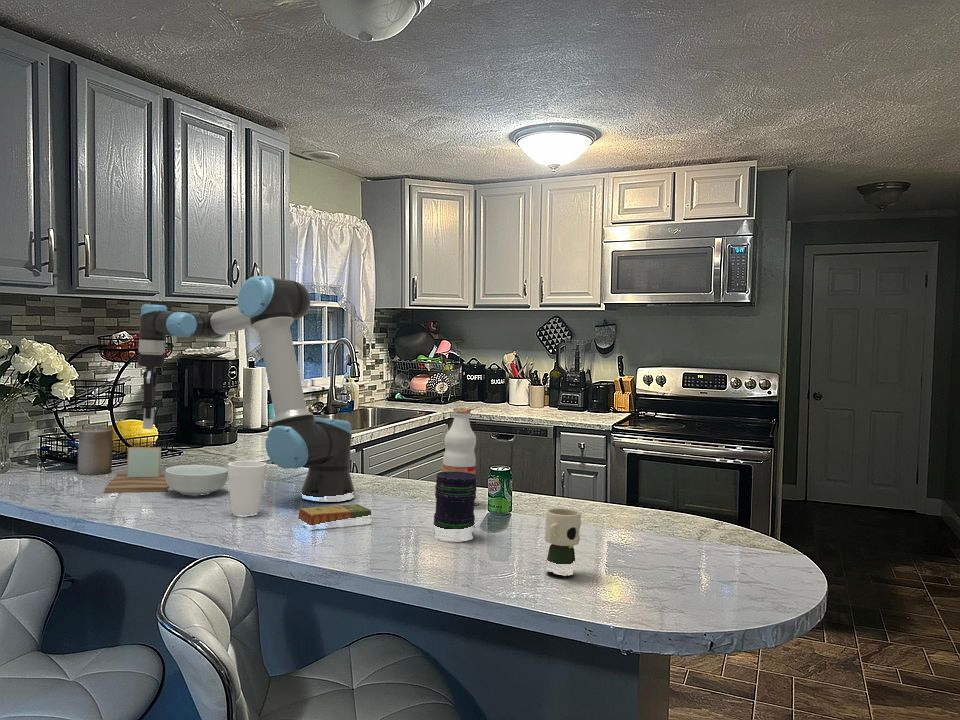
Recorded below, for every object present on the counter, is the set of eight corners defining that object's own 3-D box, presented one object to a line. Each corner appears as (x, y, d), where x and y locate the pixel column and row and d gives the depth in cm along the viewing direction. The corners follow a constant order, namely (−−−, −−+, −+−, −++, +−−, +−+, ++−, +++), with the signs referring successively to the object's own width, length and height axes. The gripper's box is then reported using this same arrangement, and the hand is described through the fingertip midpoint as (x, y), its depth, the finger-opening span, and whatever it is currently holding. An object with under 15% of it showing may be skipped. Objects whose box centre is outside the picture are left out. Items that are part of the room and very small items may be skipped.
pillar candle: (114, 469, 233) (116, 423, 233) (107, 475, 224) (109, 427, 223) (81, 469, 230) (83, 423, 230) (73, 475, 221) (74, 426, 221)
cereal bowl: (199, 502, 194) (200, 476, 193) (150, 495, 199) (151, 470, 199) (239, 491, 210) (240, 467, 210) (193, 485, 215) (194, 462, 215)
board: (166, 491, 205) (167, 487, 204) (104, 492, 199) (104, 488, 199) (173, 476, 227) (174, 472, 227) (118, 476, 222) (118, 472, 222)
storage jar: (481, 536, 173) (484, 475, 173) (460, 545, 165) (463, 480, 164) (447, 529, 178) (450, 469, 178) (424, 537, 170) (427, 474, 169)
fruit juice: (436, 502, 208) (441, 407, 208) (467, 502, 211) (472, 407, 211) (446, 510, 199) (451, 410, 199) (478, 509, 203) (483, 410, 202)
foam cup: (224, 519, 177) (226, 466, 177) (226, 510, 186) (229, 460, 186) (263, 518, 180) (266, 467, 180) (264, 510, 189) (267, 461, 188)
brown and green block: (297, 524, 177) (298, 507, 177) (357, 518, 186) (358, 502, 186) (310, 532, 170) (311, 514, 170) (371, 526, 179) (372, 508, 179)
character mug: (564, 585, 140) (568, 519, 140) (532, 577, 144) (535, 513, 144) (587, 572, 149) (590, 510, 149) (556, 565, 153) (559, 504, 153)
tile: (159, 477, 218) (160, 448, 217) (126, 478, 215) (127, 448, 215) (159, 476, 219) (161, 447, 219) (127, 477, 216) (128, 447, 216)
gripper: (162, 355, 219) (158, 431, 220) (166, 353, 232) (162, 426, 232) (135, 353, 217) (131, 431, 217) (141, 352, 229) (137, 425, 230)
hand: (147, 428), depth 225 cm, fingers closed
